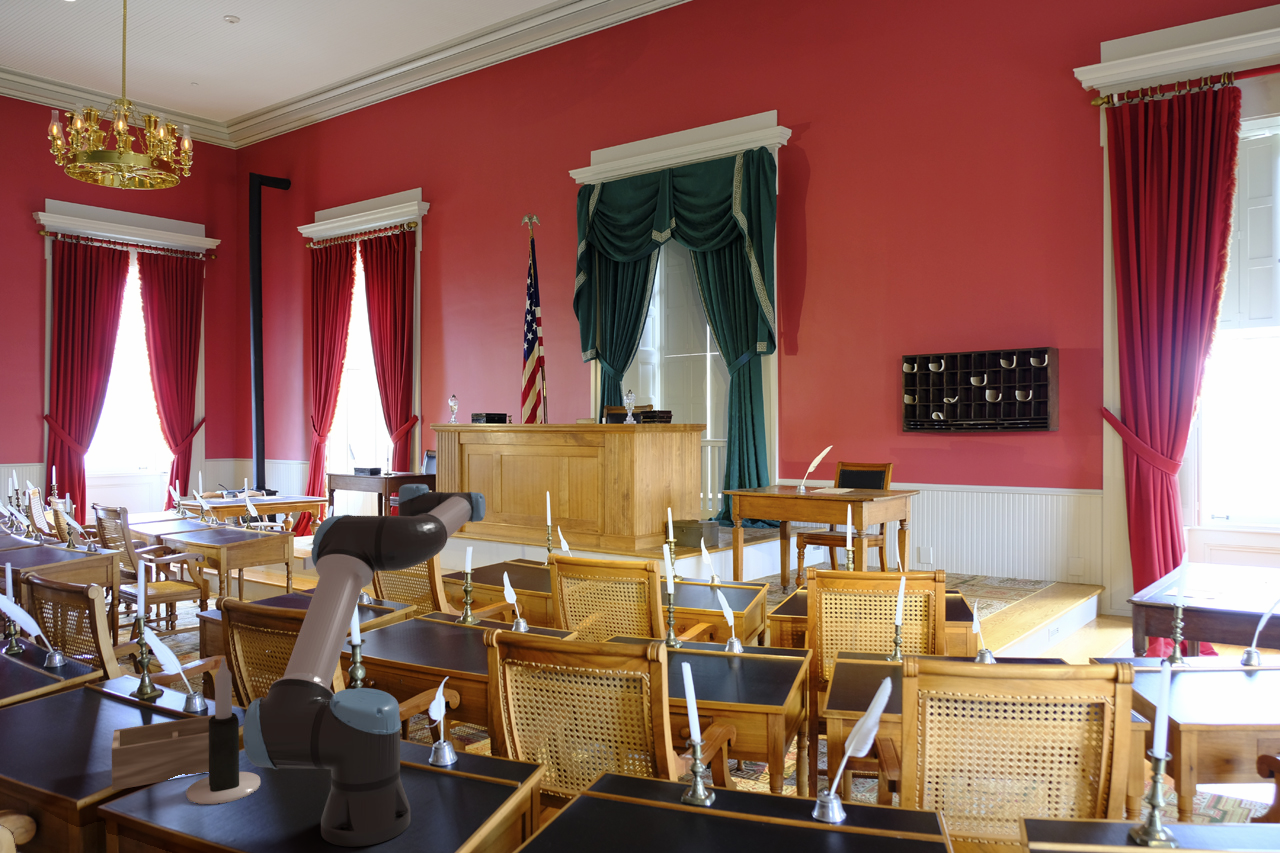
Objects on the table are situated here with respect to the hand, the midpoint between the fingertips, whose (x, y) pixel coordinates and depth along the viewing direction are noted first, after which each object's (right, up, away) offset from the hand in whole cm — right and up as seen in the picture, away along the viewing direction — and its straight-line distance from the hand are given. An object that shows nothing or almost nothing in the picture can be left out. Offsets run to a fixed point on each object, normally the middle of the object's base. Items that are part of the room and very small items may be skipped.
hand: (327, 565), depth 195 cm
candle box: (-25, -39, -16) cm, 49 cm away
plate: (-11, -39, -26) cm, 48 cm away
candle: (-11, -39, -26) cm, 48 cm away
